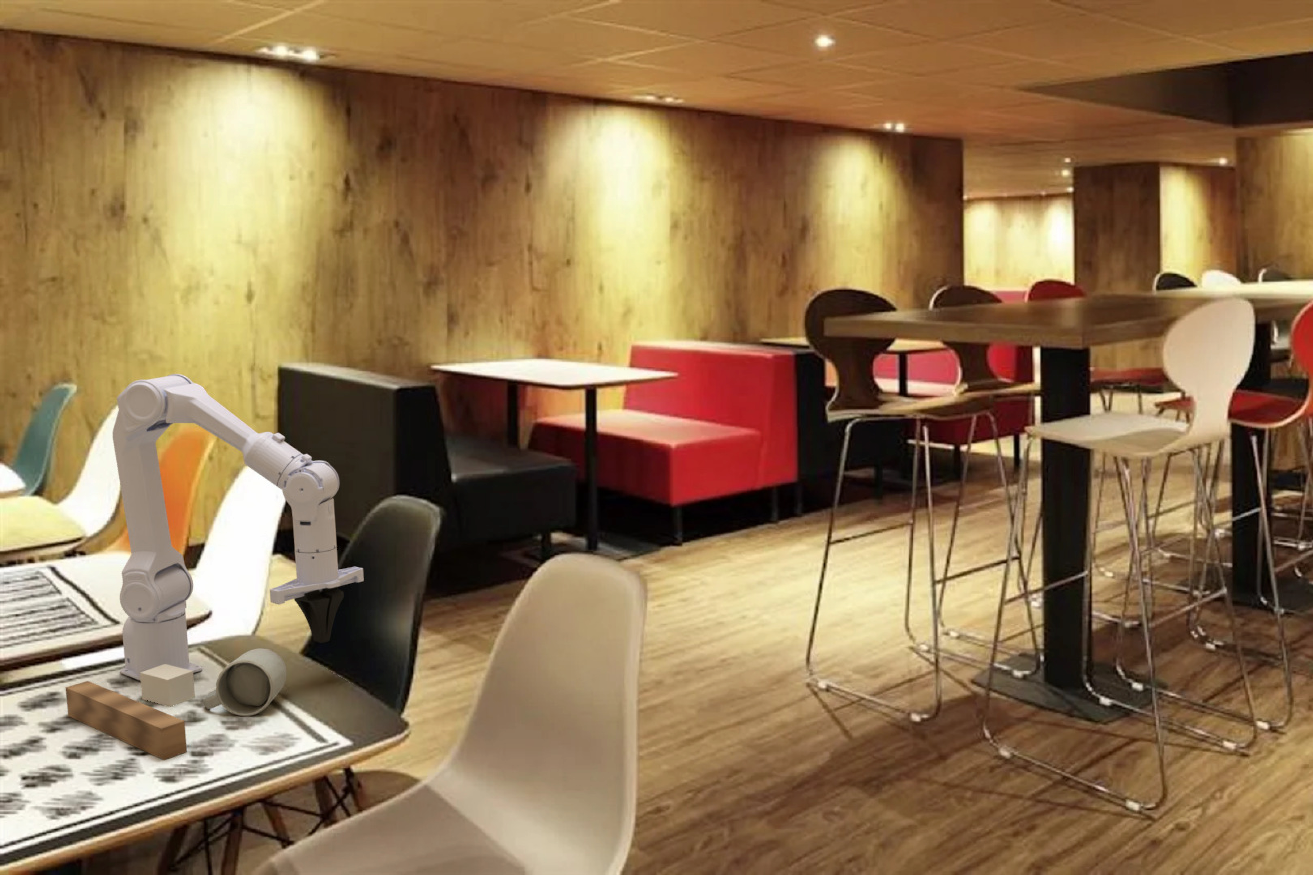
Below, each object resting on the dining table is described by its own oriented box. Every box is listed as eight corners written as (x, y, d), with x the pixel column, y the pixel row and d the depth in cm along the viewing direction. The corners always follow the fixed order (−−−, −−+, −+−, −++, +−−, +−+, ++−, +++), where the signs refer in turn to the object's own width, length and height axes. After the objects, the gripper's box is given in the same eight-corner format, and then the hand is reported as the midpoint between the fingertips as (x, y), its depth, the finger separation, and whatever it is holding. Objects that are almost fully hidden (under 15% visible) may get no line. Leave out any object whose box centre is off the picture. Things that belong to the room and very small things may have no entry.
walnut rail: (68, 715, 157) (65, 687, 156) (90, 709, 159) (87, 680, 158) (164, 760, 142) (161, 728, 142) (186, 751, 145) (184, 720, 144)
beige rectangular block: (142, 700, 163) (139, 672, 162) (167, 691, 166) (165, 664, 165) (170, 708, 160) (167, 679, 159) (195, 698, 163) (192, 671, 162)
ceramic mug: (291, 693, 164) (287, 640, 163) (275, 715, 156) (270, 660, 155) (215, 696, 164) (210, 644, 162) (194, 719, 155) (189, 663, 154)
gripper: (288, 563, 158) (295, 659, 160) (374, 541, 169) (379, 632, 171) (258, 556, 162) (265, 650, 164) (344, 535, 173) (349, 624, 175)
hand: (321, 640), depth 168 cm, fingers closed
